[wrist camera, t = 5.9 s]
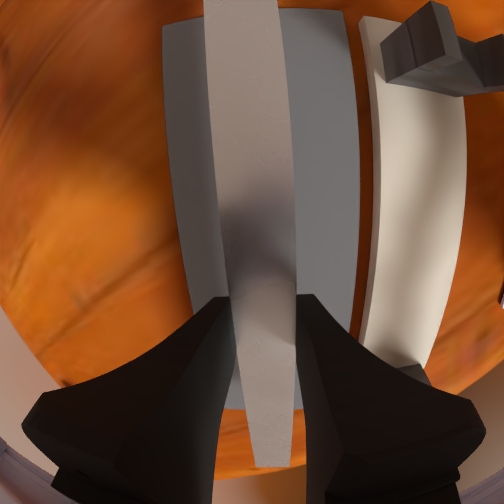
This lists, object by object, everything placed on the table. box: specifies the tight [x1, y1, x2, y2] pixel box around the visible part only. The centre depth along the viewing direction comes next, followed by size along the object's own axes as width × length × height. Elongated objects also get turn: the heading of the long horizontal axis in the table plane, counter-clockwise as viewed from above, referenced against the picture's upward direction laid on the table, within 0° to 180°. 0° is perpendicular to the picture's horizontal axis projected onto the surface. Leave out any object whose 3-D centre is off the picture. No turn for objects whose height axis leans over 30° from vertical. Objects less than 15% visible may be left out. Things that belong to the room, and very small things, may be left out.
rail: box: [203, 0, 297, 467], centre depth 10 cm, size 2×25×2 cm, turn 4°
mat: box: [162, 8, 360, 410], centre depth 15 cm, size 10×28×1 cm, turn 4°
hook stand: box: [358, 0, 504, 386], centre depth 12 cm, size 6×27×7 cm, turn 4°
